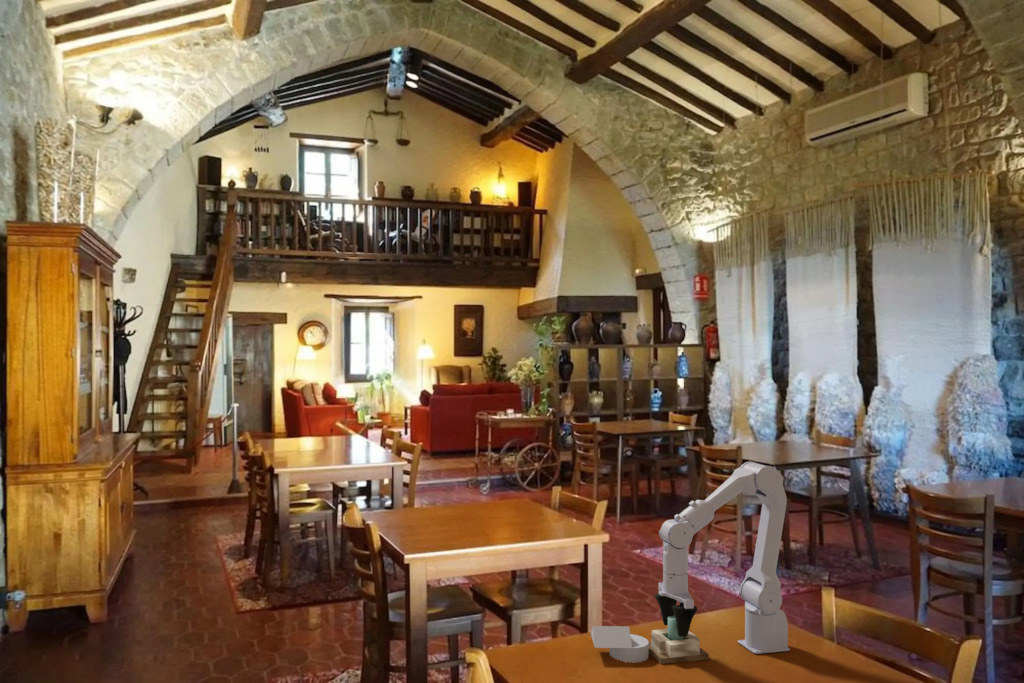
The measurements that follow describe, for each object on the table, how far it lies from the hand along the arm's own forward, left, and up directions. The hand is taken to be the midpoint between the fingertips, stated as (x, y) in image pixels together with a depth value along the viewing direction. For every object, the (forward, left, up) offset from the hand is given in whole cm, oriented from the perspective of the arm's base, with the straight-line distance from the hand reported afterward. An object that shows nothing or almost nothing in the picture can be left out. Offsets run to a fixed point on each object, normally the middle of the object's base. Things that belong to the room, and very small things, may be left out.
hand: (675, 630), depth 180 cm
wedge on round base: (+13, -2, -6) cm, 14 cm away
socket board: (0, 0, -5) cm, 5 cm away
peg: (0, 0, -4) cm, 4 cm away
